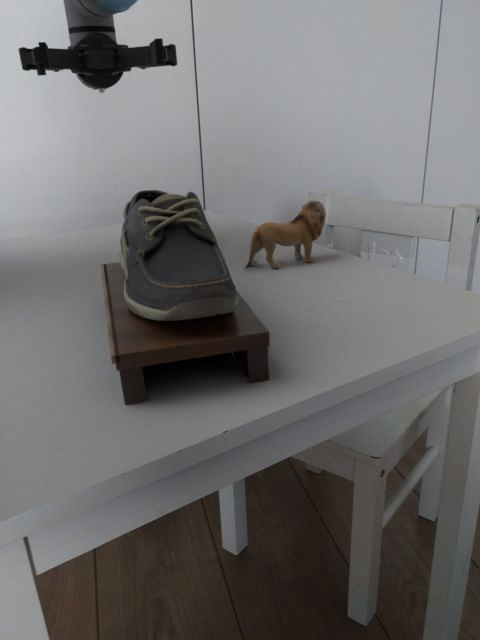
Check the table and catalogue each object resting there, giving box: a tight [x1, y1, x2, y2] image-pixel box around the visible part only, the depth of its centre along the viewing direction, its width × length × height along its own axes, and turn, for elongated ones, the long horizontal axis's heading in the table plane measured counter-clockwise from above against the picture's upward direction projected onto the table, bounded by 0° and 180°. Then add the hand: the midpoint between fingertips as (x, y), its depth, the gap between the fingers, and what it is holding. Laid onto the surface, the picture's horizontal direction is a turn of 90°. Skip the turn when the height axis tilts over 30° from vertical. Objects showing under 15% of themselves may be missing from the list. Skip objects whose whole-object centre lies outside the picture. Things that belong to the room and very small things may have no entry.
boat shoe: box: [118, 189, 238, 321], centre depth 62 cm, size 11×29×11 cm, turn 24°
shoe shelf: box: [100, 261, 271, 405], centre depth 65 cm, size 30×14×5 cm, turn 16°
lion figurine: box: [244, 200, 327, 269], centre depth 88 cm, size 15×5×9 cm, turn 122°
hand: (102, 53), depth 69 cm, fingers open, 13 cm apart
